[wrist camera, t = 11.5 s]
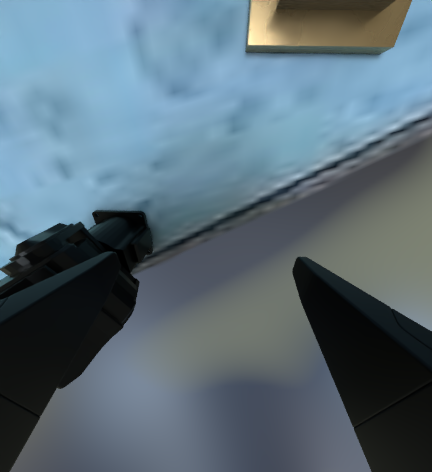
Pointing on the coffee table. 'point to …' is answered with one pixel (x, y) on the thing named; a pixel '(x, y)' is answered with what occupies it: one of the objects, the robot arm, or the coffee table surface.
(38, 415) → the robot arm
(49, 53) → the coffee table surface
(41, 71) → the coffee table surface
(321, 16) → the socket
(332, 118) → the coffee table surface
